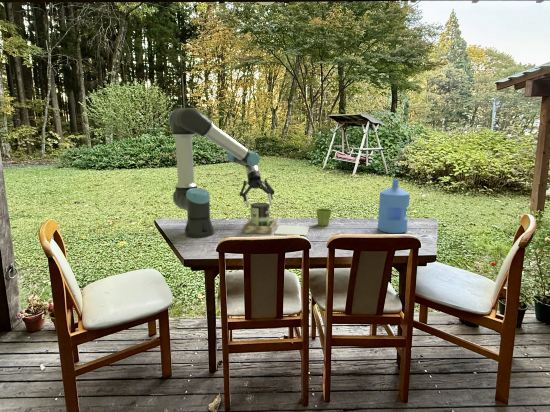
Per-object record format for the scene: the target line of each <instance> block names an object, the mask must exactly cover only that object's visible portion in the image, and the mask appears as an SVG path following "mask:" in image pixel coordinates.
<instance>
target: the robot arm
mask: <svg viewBox="0 0 550 412" xmlns="http://www.w3.org/2000/svg"><path fill="white" fill-rule="evenodd" d="M167 120H168V125H169V128H171V133H172V136H173V137H174V138H175V152H176V167H177V169H176V170H177V171H176V172H177V183H176V184H175V185H174V186H175V188H174V189H175V191H173V193H172V201H173V203H174V204H175V206H177V207H178V208H179V209H181V210H185V211H186V212H187V213H186V214H187V220H186V225H185V228H184V235H185V236H186V237H190V238H205V237H210V236H212V235H214V234H215V229H214V226H213V223H212V221H211V206H210V205H211V203H210V200H211V197H210V192H209V191H208V190H207V189H204V188H199V187H198V184H197V183H196V182H195V178H194V177H195V174H194V173H195V172H194V156H193V155H194V152H193V151H194V150H193V149H194V147H193V137H194V136H195V134H196V135H199V136H201V137H205V138H207V139H208V140H209V141H211V142H213V143H214V144H215V145H217V146H218V147H220V148H221V149H222V150H224V151H226V152H227V155H226V159H227V161H229V162H231V163H234V164H238V165H240V166H243V167H245V171H246V175H247V180H243V183H242V184H243V185H242V187H241V189H240V192H239V196H240V197H242V198H243V201H244V202H245V204H246V208H249V206H250V204H249V198H248V197H249V196H248V193H249V192H250V191H251V190H252V189H253V190H255V189H259V190H262V191H263V192H264V193H266V194H267V198H268V202H269V205H270V206H272V205H273V201H272V200H273V195H275V192H276V191H275V190H274V188H273V187H272V186H271V185H270V184H269V182H268V181H267V179H264V180H262V178H261V173H260V169H259V162H260V155H259V154H258V153H257V152H255V151H251V150H249V148H246V147H245V146H244V145H242V143H240V142H238V141H237V140H236V139H234V138H233V137H231V136H230V135H229V134H227V133H226V132H224V131H223V130H222V129H220V128H219V127H218V126H217V125H215V124H214V123H213V120H212V119H210V118H209V117H208V116H206V115H205V114H203V113H202V112H200V111H199V110H197V109H195V108H192V107H184V108H183V107H181V108H176V109H174V110H172V111H171V112H170V114H169V116H168V119H167ZM247 185H248V187H247V189H246V186H247ZM270 206H269V207H270Z"/></svg>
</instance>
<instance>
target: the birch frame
mask: <svg viewBox="0 0 550 412" xmlns="http://www.w3.org/2000/svg"><path fill="white" fill-rule="evenodd" d="M276 227H277V220H276V219H275V220H273V219H269V227H263V226H251V218H250V219H248V220H247V221H246V222H245V224H244V225H243V226H242V232H243V233H246V234H249V233H250V234H265V235H271V234H273V232H274V230H275V229H276Z"/></svg>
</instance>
